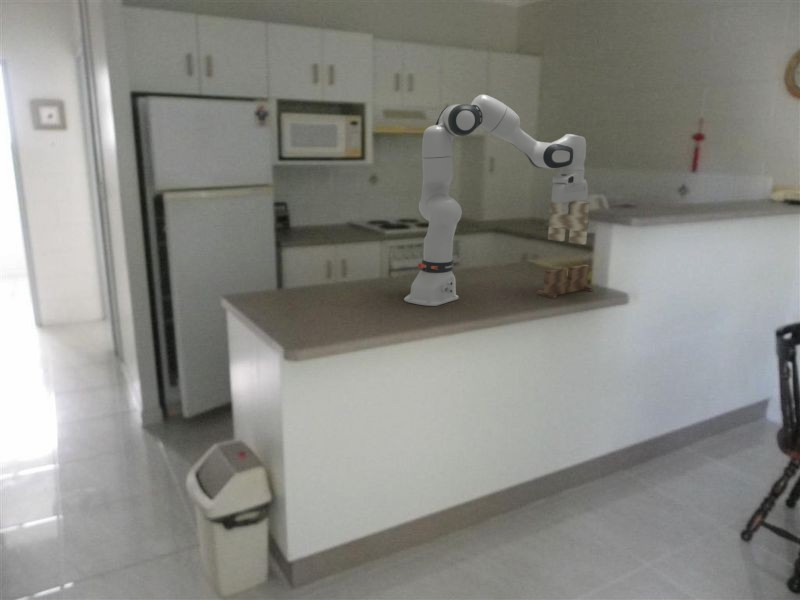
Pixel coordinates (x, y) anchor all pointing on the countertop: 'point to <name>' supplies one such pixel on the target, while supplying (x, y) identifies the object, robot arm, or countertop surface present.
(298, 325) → the countertop surface
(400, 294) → the countertop surface
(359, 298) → the countertop surface
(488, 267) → the countertop surface
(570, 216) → the birch plate
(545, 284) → the wooden block row
